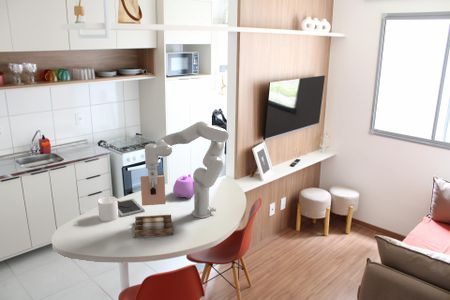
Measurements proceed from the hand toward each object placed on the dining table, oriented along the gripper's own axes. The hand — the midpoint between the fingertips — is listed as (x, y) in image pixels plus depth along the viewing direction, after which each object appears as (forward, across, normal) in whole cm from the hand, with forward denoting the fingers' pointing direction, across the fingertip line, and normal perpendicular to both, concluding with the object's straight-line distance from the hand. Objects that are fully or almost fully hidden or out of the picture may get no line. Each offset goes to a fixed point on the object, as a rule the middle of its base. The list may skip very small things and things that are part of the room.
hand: (153, 193), depth 237 cm
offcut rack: (+21, -6, +1) cm, 21 cm away
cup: (+20, +12, +29) cm, 37 cm away
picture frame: (+21, +24, +18) cm, 36 cm away
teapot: (+21, +41, -24) cm, 53 cm away
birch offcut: (+21, -6, +1) cm, 22 cm away
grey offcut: (+21, -12, +1) cm, 24 cm away
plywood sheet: (+7, 0, 0) cm, 7 cm away
